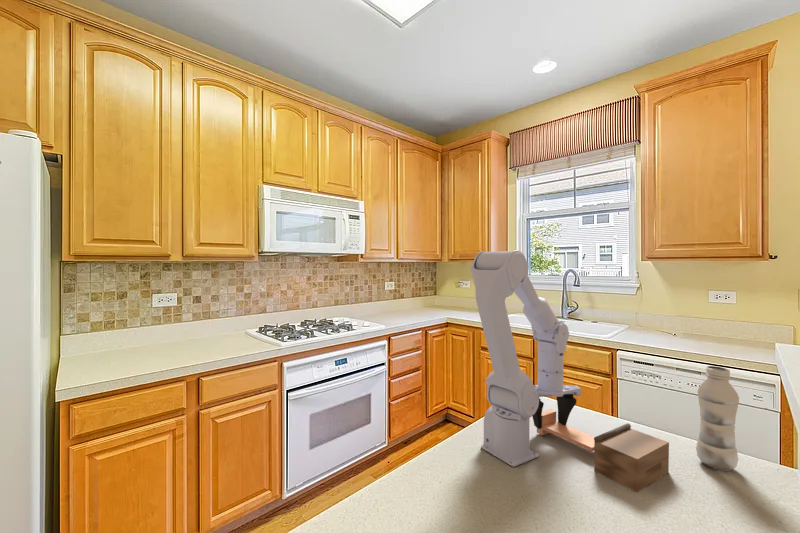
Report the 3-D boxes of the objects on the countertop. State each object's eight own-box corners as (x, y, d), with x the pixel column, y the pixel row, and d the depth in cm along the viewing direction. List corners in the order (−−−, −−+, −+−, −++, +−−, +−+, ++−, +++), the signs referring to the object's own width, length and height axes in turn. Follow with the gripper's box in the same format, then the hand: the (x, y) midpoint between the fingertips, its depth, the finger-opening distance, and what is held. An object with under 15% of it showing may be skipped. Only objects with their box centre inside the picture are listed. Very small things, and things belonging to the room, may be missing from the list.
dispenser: (593, 470, 74) (593, 436, 74) (625, 454, 80) (626, 422, 80) (637, 492, 67) (637, 454, 67) (668, 472, 73) (668, 437, 73)
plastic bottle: (720, 458, 79) (722, 364, 78) (747, 476, 72) (749, 373, 72) (688, 456, 79) (689, 363, 79) (711, 474, 72) (713, 372, 72)
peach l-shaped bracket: (536, 432, 89) (536, 413, 89) (550, 427, 92) (550, 409, 92) (591, 458, 78) (592, 436, 78) (605, 451, 80) (606, 430, 80)
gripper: (529, 375, 84) (529, 435, 84) (589, 373, 86) (588, 432, 86) (516, 367, 91) (515, 422, 91) (571, 365, 93) (570, 419, 93)
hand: (550, 426), depth 89 cm, fingers closed on peach l-shaped bracket, 6 cm apart
